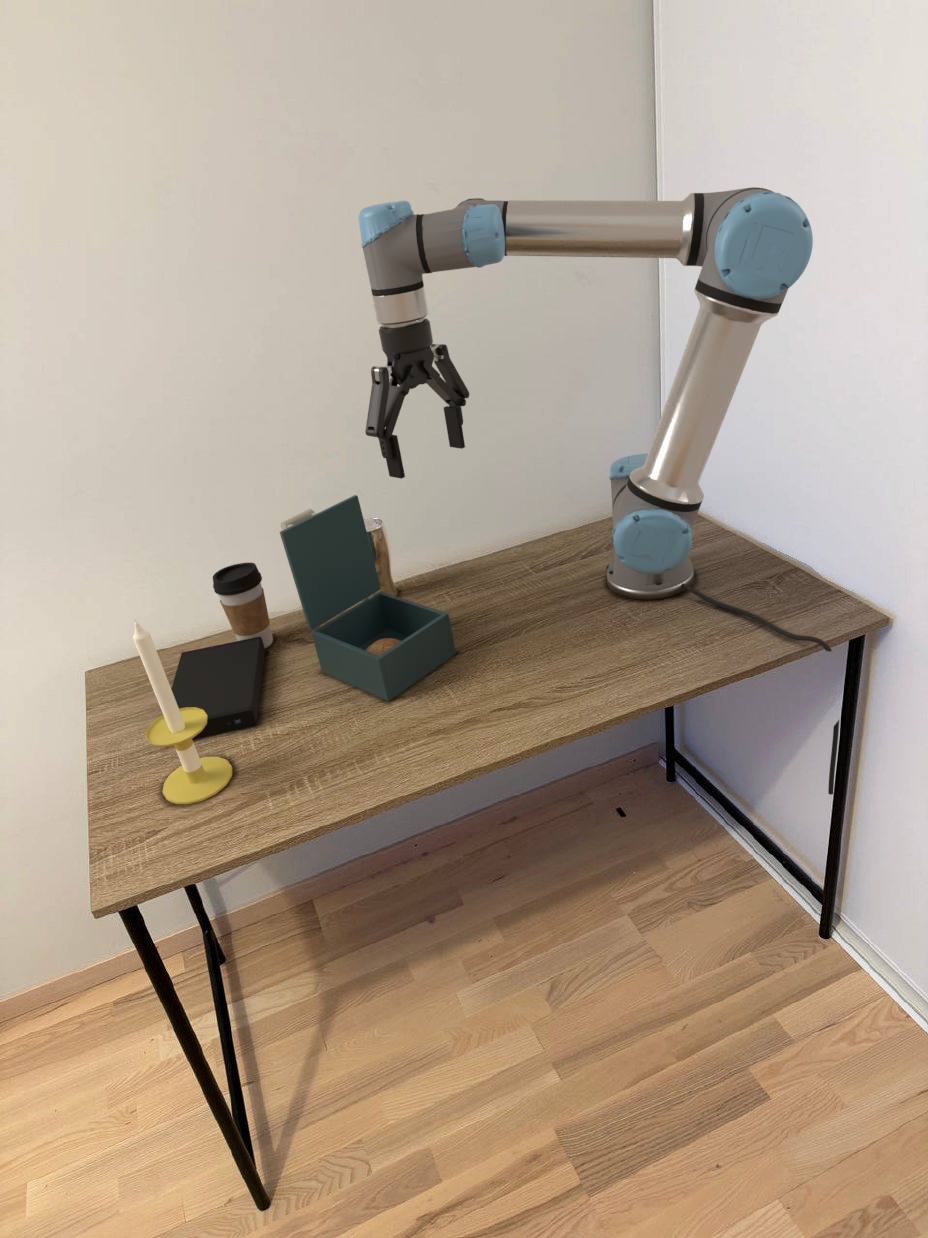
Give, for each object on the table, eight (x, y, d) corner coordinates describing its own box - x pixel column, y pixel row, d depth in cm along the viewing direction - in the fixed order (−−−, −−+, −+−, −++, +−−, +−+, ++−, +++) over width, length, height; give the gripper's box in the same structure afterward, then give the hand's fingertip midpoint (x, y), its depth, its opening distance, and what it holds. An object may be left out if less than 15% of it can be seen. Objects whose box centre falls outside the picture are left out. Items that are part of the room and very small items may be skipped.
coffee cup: (269, 656, 149) (245, 581, 141) (226, 656, 151) (200, 582, 143) (287, 631, 156) (265, 558, 148) (245, 632, 158) (222, 560, 150)
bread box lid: (357, 495, 138) (327, 490, 143) (282, 532, 129) (252, 525, 134) (381, 589, 146) (351, 580, 152) (311, 630, 137) (282, 620, 142)
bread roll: (350, 674, 138) (345, 656, 136) (371, 646, 145) (366, 628, 143) (410, 678, 134) (405, 659, 132) (428, 649, 141) (424, 630, 139)
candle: (191, 754, 126) (130, 597, 113) (246, 762, 123) (189, 601, 109) (148, 798, 119) (77, 636, 105) (205, 809, 115) (138, 642, 102)
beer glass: (406, 594, 161) (391, 523, 154) (375, 608, 158) (358, 536, 151) (388, 583, 166) (373, 513, 159) (358, 596, 163) (341, 526, 156)
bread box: (456, 653, 140) (448, 613, 136) (388, 701, 131) (378, 659, 127) (388, 629, 151) (380, 591, 147) (321, 671, 141) (310, 632, 137)
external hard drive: (265, 650, 150) (261, 636, 149) (257, 725, 130) (251, 710, 129) (186, 666, 150) (180, 652, 148) (165, 745, 129) (159, 729, 128)
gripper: (443, 301, 131) (463, 433, 142) (320, 342, 117) (353, 486, 127) (479, 301, 126) (497, 437, 137) (356, 344, 112) (386, 493, 122)
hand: (428, 461), depth 132 cm, fingers open, 13 cm apart
